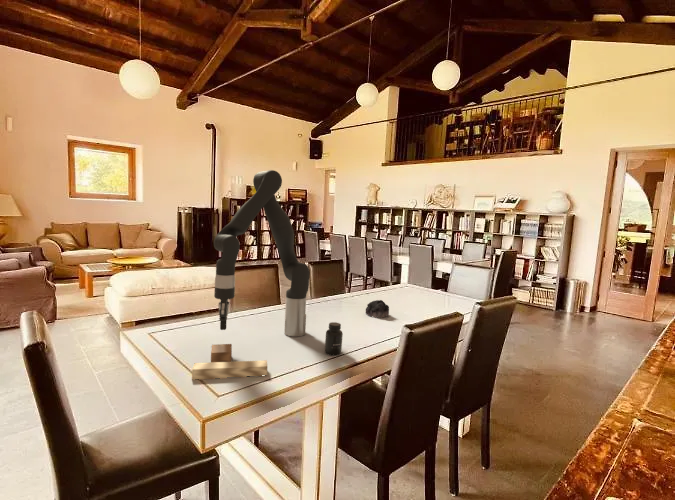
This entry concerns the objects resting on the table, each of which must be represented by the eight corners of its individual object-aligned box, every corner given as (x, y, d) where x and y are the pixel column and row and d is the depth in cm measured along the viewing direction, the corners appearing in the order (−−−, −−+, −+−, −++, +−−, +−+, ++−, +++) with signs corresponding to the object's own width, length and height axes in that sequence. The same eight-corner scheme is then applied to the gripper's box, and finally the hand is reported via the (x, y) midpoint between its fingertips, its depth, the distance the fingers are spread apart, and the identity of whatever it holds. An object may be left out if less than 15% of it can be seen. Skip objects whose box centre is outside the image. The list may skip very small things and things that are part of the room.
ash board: (266, 369, 129) (266, 360, 129) (267, 376, 124) (267, 366, 124) (194, 373, 123) (194, 363, 123) (191, 379, 119) (192, 369, 118)
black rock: (367, 311, 216) (367, 295, 214) (390, 312, 212) (390, 296, 211) (363, 319, 203) (363, 302, 202) (388, 320, 200) (387, 303, 198)
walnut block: (231, 356, 139) (231, 343, 139) (231, 365, 132) (231, 351, 131) (211, 357, 137) (212, 344, 137) (210, 366, 130) (211, 352, 129)
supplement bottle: (335, 357, 143) (337, 327, 142) (321, 353, 147) (322, 324, 146) (344, 352, 149) (346, 323, 148) (330, 348, 153) (332, 320, 152)
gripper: (234, 289, 136) (232, 334, 138) (235, 282, 149) (234, 324, 150) (212, 289, 134) (211, 334, 136) (216, 282, 147) (214, 324, 149)
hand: (223, 329), depth 143 cm, fingers closed
